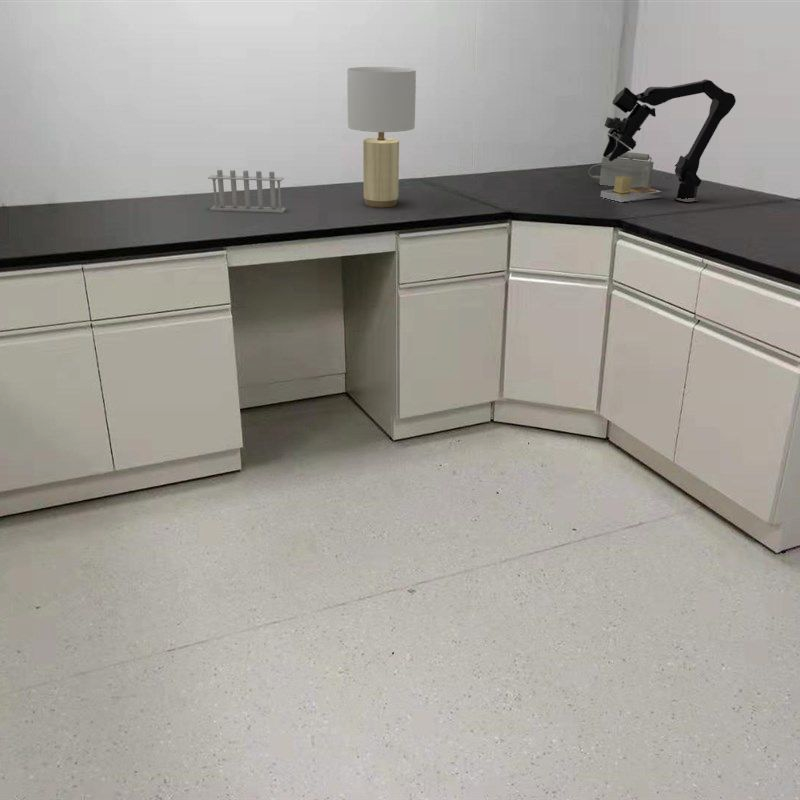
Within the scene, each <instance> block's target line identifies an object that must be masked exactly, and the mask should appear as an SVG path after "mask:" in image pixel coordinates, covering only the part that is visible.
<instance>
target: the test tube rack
mask: <svg viewBox="0 0 800 800" xmlns="http://www.w3.org/2000/svg"><path fill="white" fill-rule="evenodd" d="M268 172H269V173H268V174H269V175H268V176H262V171H261V170H256V172H255V173H256V174H255V176H254V175H253V176H251V175H249V174H250V173H249V170H243V171H242V173H243V175H236V174H237V173H236V170H235V169H231V170H229V173H230V174H229V175H223V174H224V173H223V169H217V171H216V173H217V174H211V175H210V176H208V177H207V179H208V180H210V179H212V186H213V187H212V188H213V198H214V199H213V200H214V205H213V206H212V207H210V208H209V209H210V211H222V212H223V211H225V212H226V211H227V212H250V213H251V212H252V213H253V212H254V213H281V214H283V213H285V211H286V210H287V209H286V207H282V197H281V196H282V195H281V182H282V181H283V180H284V179H285V177H284V176H283V177H279V176H275V171H273V170H271V171H268ZM216 180H217V183H216ZM224 180H230V191H231V201H232V205H226V202H225V188H224ZM237 180H238V181H239V180H241V181H243V189H244V190H243V191H244V204H245V205H244V206H242V205H240V206H239V205H238V192H237V191H238V190H237V189H238V188H237ZM250 181H256V193H257V195H256V196H257V206H251V194H250V193H251V192H250V190H251V189H250ZM263 181H264V182H265V181H268V182H269V194H270V206H264V199H263V198H264V196H263V195H264V194H263ZM276 182H277V194H276ZM216 184H217V185H218V187H216V186H217V185H216ZM217 188H218V197H217ZM276 195H277V197H278V199H276ZM218 199H219V204H218ZM277 201H278V207H277Z"/></svg>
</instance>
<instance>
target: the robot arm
mask: <svg viewBox="0 0 800 800" xmlns="http://www.w3.org/2000/svg"><path fill="white" fill-rule="evenodd" d="M698 94H704V95H706V96H707V97H708V98H709V99H710V100H711V103H710V106H709V113H708V116H707V118H706V120H705V122H703V125H702V127H701V129H700V131H699V132H698V134H697V136H696V138H695V139H694V142H693V144H692V145H691V147H690V149H689V151H688V153H687V154H685V155H684V156H683V155H680V156H679V158H678V161H677V162H676V164H675V165H674V167H675V169H674V173H675V176H676V177H677V178H678V182H679V186H678V189H677V195H676V198H681V199H685V198H687V199H688V198H695V197H696V198H697V192H698V188H699V186H701V183H702V180H701V178H700V177H699V176H698V174H697V173H698V170H699V168H700V161H701V157H702V156H703V154H704V152H705V150H706V148H707V146H708V145H709V143H710V141H711V140H712V137H713V135H714V134H715V132H716V130H717V128H718V126H719V124H720V123H721V121H722V120H723V119H724V118H725V117H726V116H727V115H728V114H729V113H730V112H731V110H733V108H734V106H735V105H736V101H737V100H736V97H735V95H734V94H733V93H731V92H727V91H725V90H724V89H722V88H721V87H719V86H718V85H717V84H715V82H713V81H712V80H709V79H706V78H705V79H702V80H698V81H694V82H690V83H684V84H679V85H678V84H677V85H673V86H649V87H647V88H646V89H645V90H644V91H642V92H640V93H637V94H635V93H634V92H632V91H631V90H630V88H628V87H626V86H625V87H624V88H622V90H621V91H620V92H618V94H616V95H615V97H614V98H613V100H612V105H613V106H615V107H617V108H618V109H619V110H620V111H622V112H623V113H625V114H627V113H629V114H628V115H627V117H623V119H621V118H620V117H617V116H615V117H614V118H612V117H610V116H609V117H606V118H605V119H606V120H605V122H604V125H603V126H604V127H605V128H607V129H609V130H608V131H607V133H608V134H607V136H608V137H607V139H608V142H607V145H606V147H605V149H604V151H603V154H602V156H603V157H606V156H608V155H609V154H610V153H612V154H611V156H610V158H609V161H613V160H614V159H616V158H619V156H621V155H623V154H624V153H626V152H631V150H634V149H635V148H636V146H637V141H636V140H635V139H634V138H633V137H634V136H635V134H636V133H637V132H640V131H641V129H642V128H641V127H642V125H643V124H644V122H646V119H648V117H649V116H652V117H654V118H655V117H656V116H657V115H656V108H655V107H656V106H659V105H661V104H665V103H667V102H670V101H671V100H672V99H679V98H684V97H688V96H693V95H694V96H695V95H698ZM639 102H640V103H639ZM641 103H643V104H642V105H641ZM649 105H650V106H652V107H650V106H649Z"/></svg>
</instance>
